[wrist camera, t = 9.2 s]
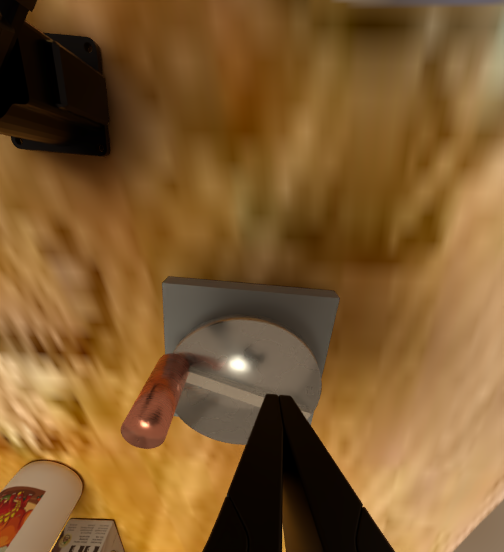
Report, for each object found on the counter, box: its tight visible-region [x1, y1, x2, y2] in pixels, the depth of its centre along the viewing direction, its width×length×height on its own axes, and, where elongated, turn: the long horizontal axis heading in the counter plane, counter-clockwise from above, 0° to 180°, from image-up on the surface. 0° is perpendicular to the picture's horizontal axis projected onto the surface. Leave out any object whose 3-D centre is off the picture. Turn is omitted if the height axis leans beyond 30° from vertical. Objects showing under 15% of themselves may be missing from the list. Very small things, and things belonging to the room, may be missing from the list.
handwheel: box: [121, 314, 322, 449], centre depth 18 cm, size 13×12×8 cm
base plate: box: [162, 276, 340, 425], centre depth 22 cm, size 14×14×2 cm
